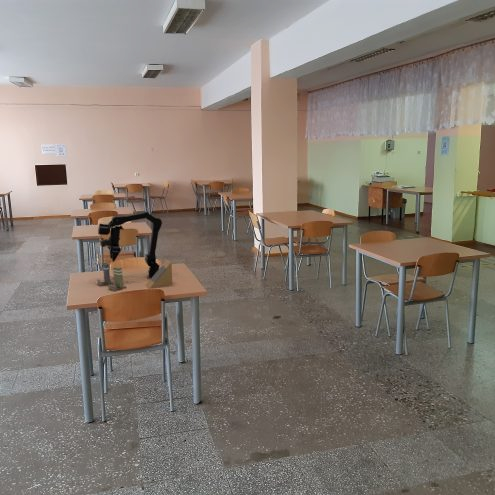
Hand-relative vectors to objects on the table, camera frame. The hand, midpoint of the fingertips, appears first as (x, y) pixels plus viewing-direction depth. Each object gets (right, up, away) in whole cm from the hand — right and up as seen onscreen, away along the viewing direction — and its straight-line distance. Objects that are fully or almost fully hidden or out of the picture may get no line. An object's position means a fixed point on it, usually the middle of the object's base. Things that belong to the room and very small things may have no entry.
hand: (112, 259), depth 299 cm
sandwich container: (+30, -16, -6) cm, 35 cm away
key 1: (-2, -14, -3) cm, 14 cm away
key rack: (+2, -16, -8) cm, 19 cm away
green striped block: (+7, -16, -12) cm, 21 cm away
